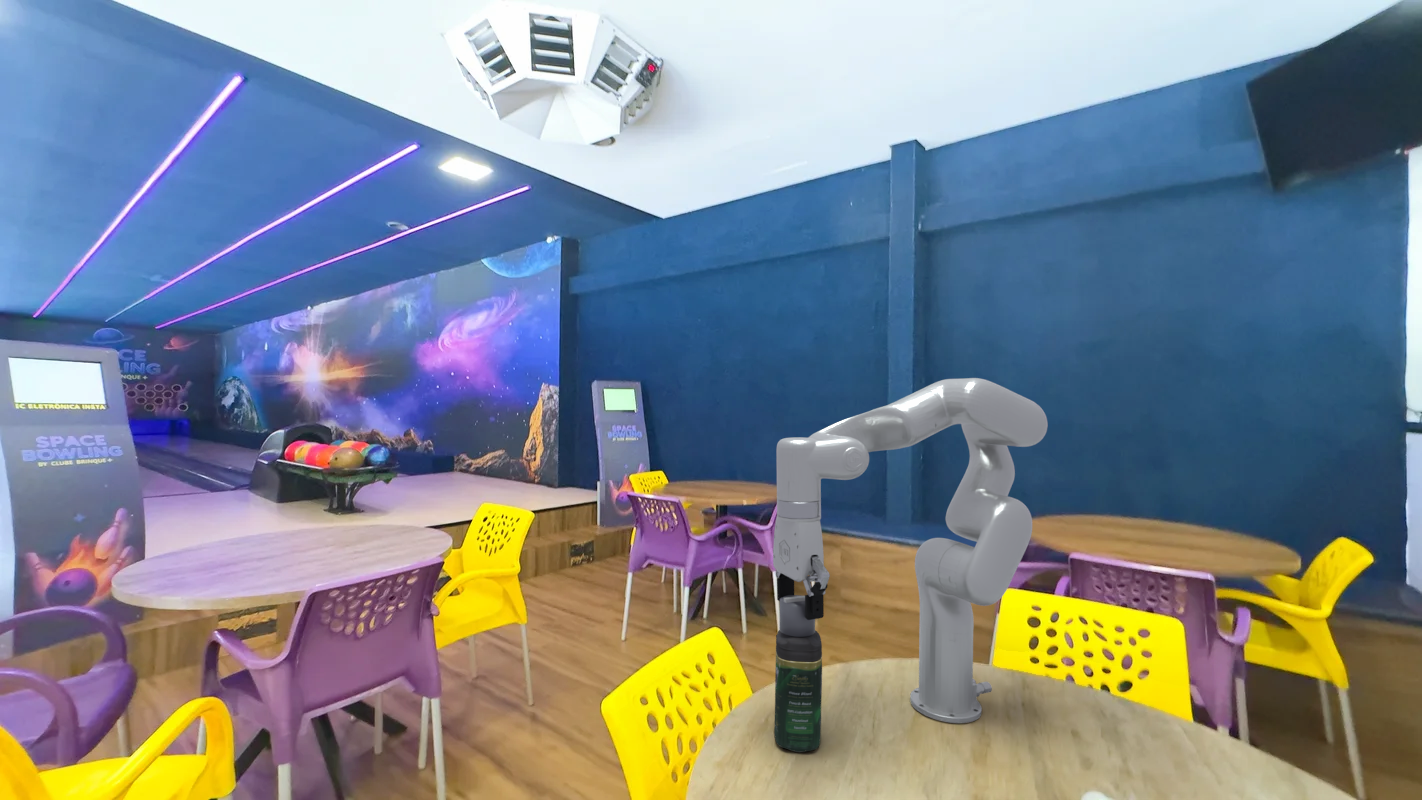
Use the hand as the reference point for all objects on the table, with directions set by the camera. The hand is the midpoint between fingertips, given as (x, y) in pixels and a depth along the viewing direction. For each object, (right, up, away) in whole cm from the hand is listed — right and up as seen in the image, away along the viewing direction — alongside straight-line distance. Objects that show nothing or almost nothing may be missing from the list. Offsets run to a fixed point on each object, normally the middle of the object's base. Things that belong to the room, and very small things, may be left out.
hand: (799, 608), depth 105 cm
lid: (-1, -3, -1) cm, 3 cm away
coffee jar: (0, -22, -1) cm, 22 cm away
